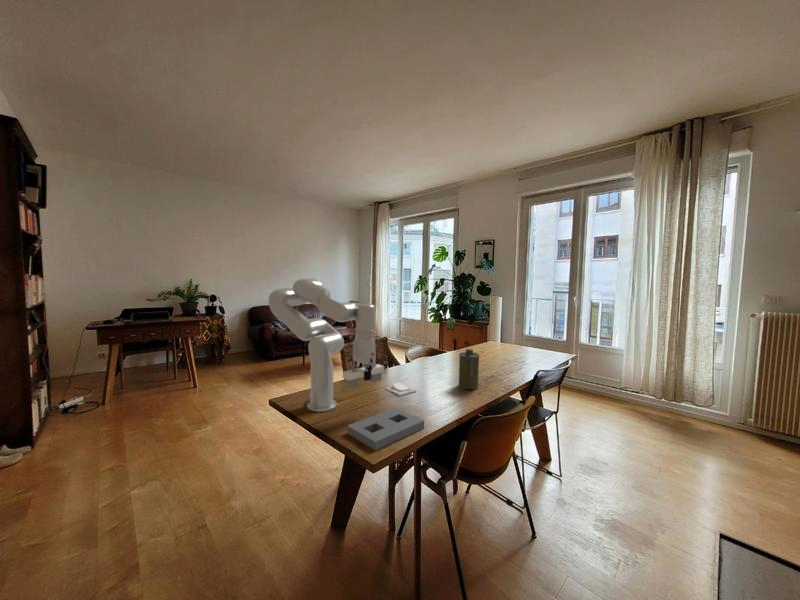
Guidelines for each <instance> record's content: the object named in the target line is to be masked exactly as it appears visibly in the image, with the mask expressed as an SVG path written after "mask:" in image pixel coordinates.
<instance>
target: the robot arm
mask: <svg viewBox="0 0 800 600" xmlns="http://www.w3.org/2000/svg"><path fill="white" fill-rule="evenodd" d="M306 303H309V304H312V305H314V306H315V307H317V308H318V310H319V311H320V313H321V314H322V315H324V316H325V317H327V318H328V319H331V320H333V321H335V322H339V323H345V322H349V321H355V336H354V340H353V344H352V345H353V347H352V360H353V361H354V362H355V367H356V369H358V368H362V367H365V371H364V377H363V380H364V382H366V381H370V380H371V370H372V369H373V368H374V367H375V366H376V364H377V363H376V358H377V356H376V355H377V354H376V349H377V348H376V339H375V323H376V321H375V320H376V306H375V305H374V304H373V303H372V304H370V303H359V302H355V301H352V302H348V301H347V302H339V301H336V300H334V299H332V298H331V292H330V290H329V289H328V288H325V287H324V286H323V283H322V282H321V280H318V279H315V278H301V279H298V280H296V281H295V282H294V283H293V285H292V288H291V287H290V288H289V287H288V288H279V289H275V290H273V291H272V292H270V294H269V296H268V307H269V309H270V311H271V313H272V314H273V315H274V317H276V319H277V320H279V321H280V322H281V323H283V324H284V325H285V326H286V327H287V328H288V329H289V330H290V331H291V332H292V333H293V334H294V335H295V336H296V337H297V338H298V339H299V340H301V341H304V342H308V341H309V342H308V355H309V360H310V394H309V395H308V398H310V401H309V402H308V403H307V405H306V408H307V409H308V410H309V411H312V412H317V413H323V412H328V411H331V410H333V409H335V408H336V407H337V406H338V405H337V404H338V403H337V401H336V400H335V399H334V363H333V360H332V358H331V355H333V354H337V353H339V352H340V351H342V350H343V349H344V346H345V340H344V337H343V335H342V334H341V333H340V332H339V331H338V330H336V329H335V328H334V326H332V324H330V323H329V322H328V321H327V320H325V319H323V318H320V317H315V318H308V317H307V316H306V315H304V314H303V313H302V312H301V311H299V310H298V309H295V308H294V307H297V306H302V305H304V304H306Z"/></svg>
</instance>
